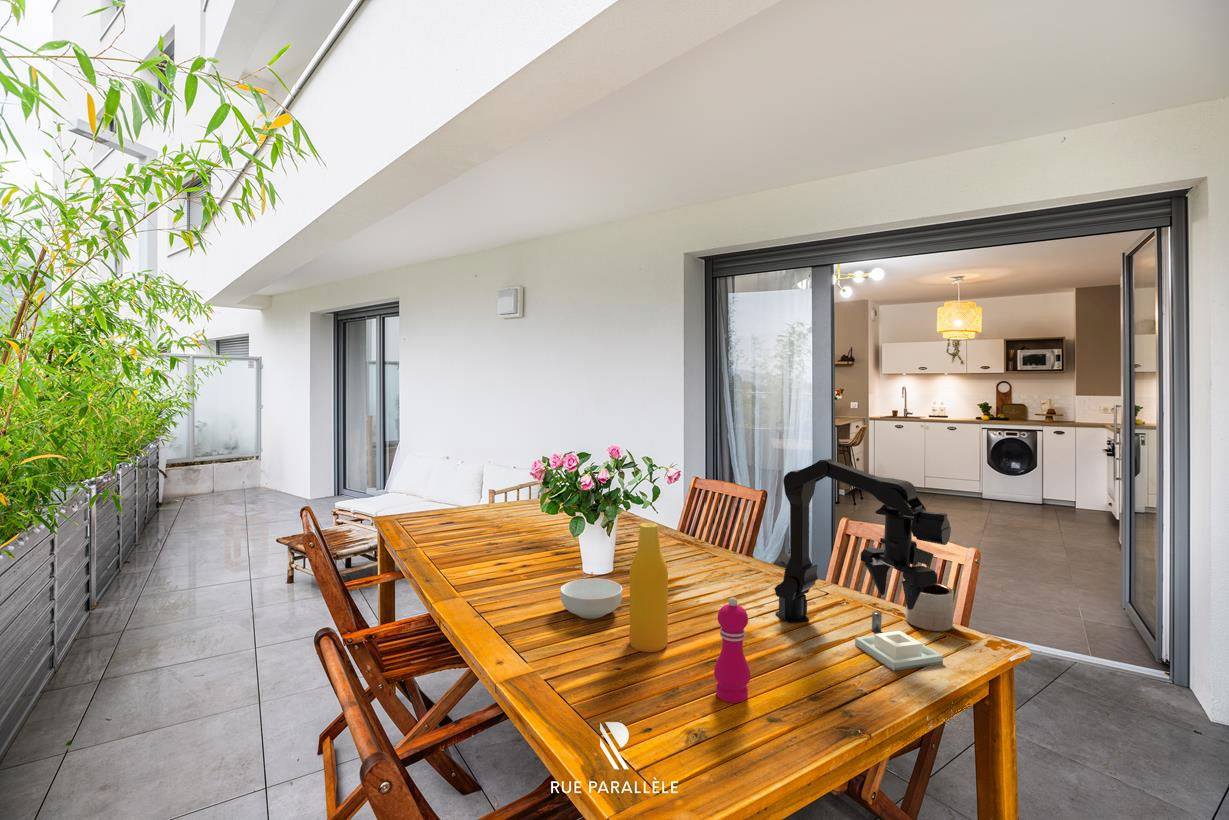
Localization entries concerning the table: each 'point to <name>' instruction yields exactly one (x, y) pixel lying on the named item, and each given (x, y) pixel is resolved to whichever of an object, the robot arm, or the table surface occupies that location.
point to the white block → (898, 645)
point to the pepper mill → (732, 654)
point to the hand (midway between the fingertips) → (895, 601)
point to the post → (876, 621)
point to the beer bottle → (648, 593)
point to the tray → (926, 659)
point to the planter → (932, 609)
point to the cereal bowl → (591, 597)
